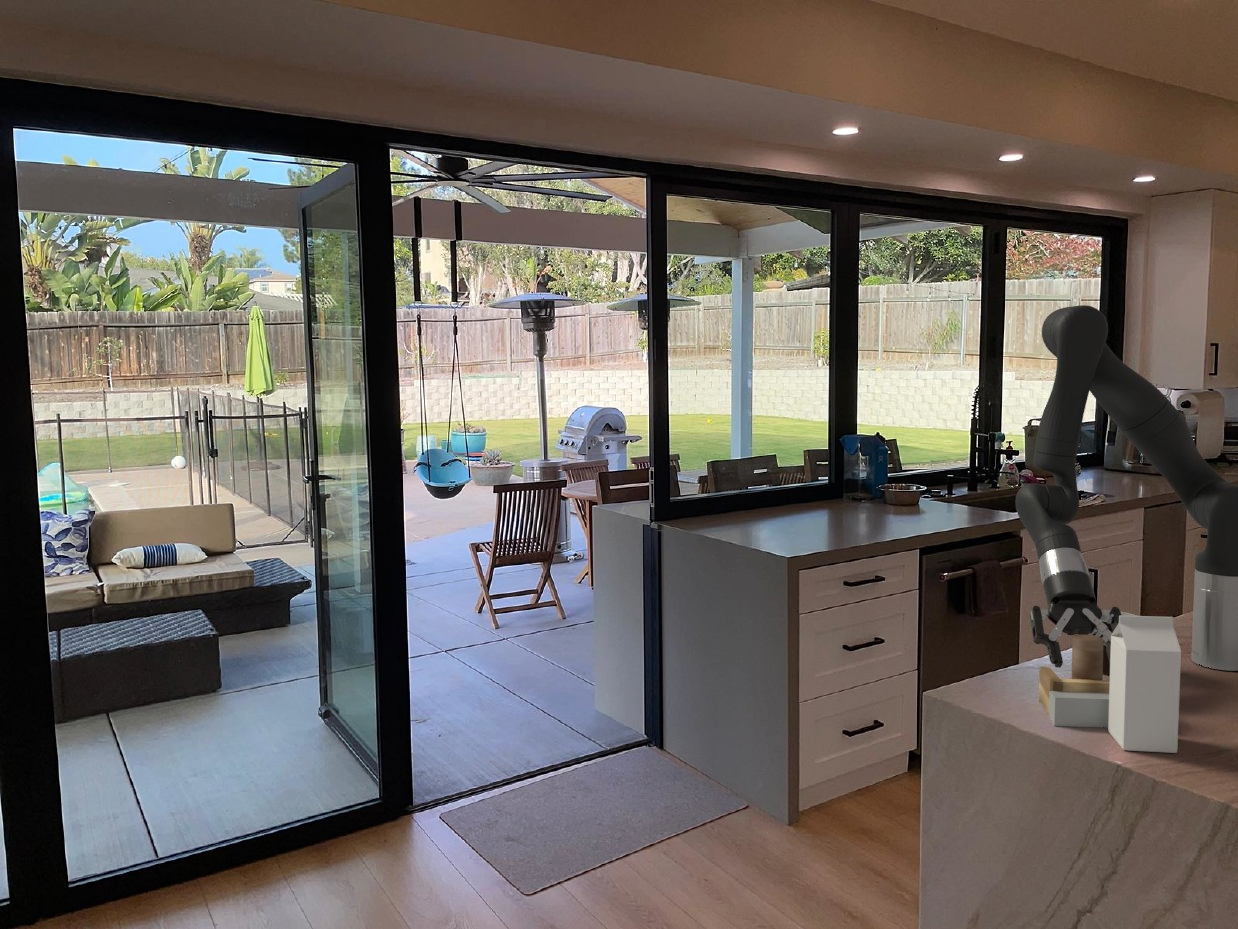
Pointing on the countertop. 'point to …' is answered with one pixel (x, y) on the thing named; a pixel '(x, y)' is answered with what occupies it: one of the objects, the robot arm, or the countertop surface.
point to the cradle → (1066, 685)
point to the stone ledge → (1079, 709)
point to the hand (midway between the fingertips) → (1087, 666)
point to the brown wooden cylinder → (1087, 657)
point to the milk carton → (1144, 684)
